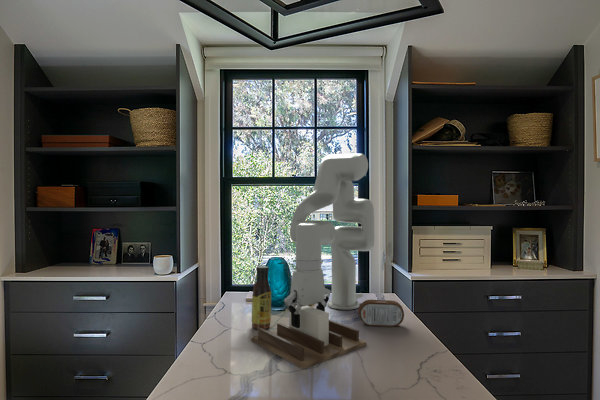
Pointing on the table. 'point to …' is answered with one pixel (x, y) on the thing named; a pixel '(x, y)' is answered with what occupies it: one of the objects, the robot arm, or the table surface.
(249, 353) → the table surface
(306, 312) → the white rectangular box
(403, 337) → the table surface
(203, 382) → the table surface
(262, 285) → the sauce bottle
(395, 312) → the tin
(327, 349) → the dish rack
